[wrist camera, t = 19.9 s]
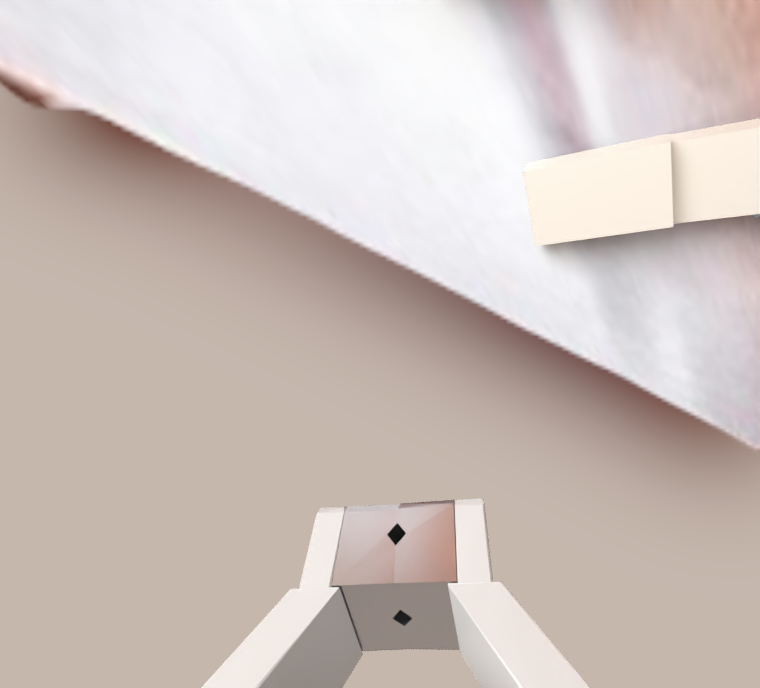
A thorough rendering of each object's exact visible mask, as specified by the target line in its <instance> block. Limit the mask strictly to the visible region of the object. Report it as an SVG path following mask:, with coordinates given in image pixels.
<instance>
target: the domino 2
mask: <svg viewBox="0 0 760 688" xmlns="http://www.w3.org/2000/svg"><path fill="white" fill-rule="evenodd" d="M669 138H670V141H671V167H672V198H673V224H677V223H685V222H694V221H702V220H711V219H720V218H728V217H737V216H745V215H754V214H760V118H759V119H754V120H748V121H743V122H737V123H731V124H726V125H720V126H715V127H709V128H704V129H698V130H693V131H687V132H682V133H676V134H670V135H669Z"/></svg>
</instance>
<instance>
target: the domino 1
mask: <svg viewBox="0 0 760 688" xmlns="http://www.w3.org/2000/svg"><path fill="white" fill-rule="evenodd" d="M523 176H524V182H525V188H526V194H527V200H528V206H529V212H530V217H531V223H532V229H533V235H534V241H535V246H541V245H548V244H555V243H562V242H569V241H576V240H584V239H591V238H598V237H605V236H612V235H620V234H627V233H634V232H641V231H648V230H656V229H663V228H670V227H673V198H672V167H671V141H670V138H669V134H663V135H658V136H654V137H649V138H644V139H639V140H634V141H630V142H625V143H620V144H615V145H611V146H606V147H601V148H596V149H591V150H587V151H582V152H577V153H572V154H568V155H563V156H558V157H553V158H548V159H544V160H539V161H534V162H529V163H526V166H525V168H524V170H523Z"/></svg>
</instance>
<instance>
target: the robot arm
mask: <svg viewBox="0 0 760 688" xmlns="http://www.w3.org/2000/svg"><path fill="white" fill-rule="evenodd" d="M399 649H438V650H440V649H441V650H460V653H461V655H462V656H463V658H464V659H465V661H466V663H467V665H468V666H469V668H470V670H471V671H472V673H473V675H474V677H475V678H476V680H477V682H478V683H479V685H480V687H481V688H589V686H588V685H587V684H586V683H585V682H584V680H583V679H582V678H581V677H580V676H579V674H578V673H577V672H576V671H575V669H574V668H573V667H572V666H571V665H570V663H569V662H568V661H567V660H566V659H565V657H564V656H563V655H562V654H561V653H560V651H559V650H558V649H557V648H556V646H555V645H554V644H553V643H552V642H551V641H550V639H549V638H548V637H547V636H546V634H545V633H544V632H543V631H542V630H541V628H540V627H539V626H538V625H537V623H536V622H535V621H534V620H533V619H532V618H531V616H530V615H529V614H528V613H527V611H526V610H525V609H524V608H523V607H522V605H521V604H520V603H519V602H518V601H517V599H516V598H515V597H514V596H513V594H512V593H511V592H510V591H509V590H508V588H507V587H506V586H505V585H504V584H503V582H493V577H492V568H491V559H490V550H489V540H488V531H487V522H486V513H485V504H484V500H483V499H465V500H455V501H454V500H445V501H431V502H417V503H403V504H400V505H368V506H347V507H323V508H320V510H319V512H318V513H317V515H316V519H315V523H314V527H313V532H312V536H311V540H310V544H309V549H308V553H307V557H306V562H305V566H304V570H303V574H302V578H301V583H300V587H299V588H292V589H290V591H289V592H288V593H287V594H286V595H285V596H284V597H283V598H282V599H281V600H280V602H279V603H278V604H277V605H276V606H275V607H274V608H273V609H272V610H271V612H269V614H268V615H267V616H266V617H265V618H264V619H263V620H262V621H261V623H260V624H259V625H258V626H257V627H256V628H255V629H254V630H253V631H252V632H251V633H250V635H249V636H248V637H247V638H246V639H245V640H244V641H243V642H242V643H241V645H240V646H239V647H238V648H237V649H236V650H235V651H234V652H233V653H232V655H231V656H230V657H229V658H228V659H227V660H226V661H225V662H224V663H223V664H222V665H221V667H220V668H219V669H218V670H217V671H216V672H215V673H214V674H213V675H212V676H211V678H210V679H209V680H208V681H207V682H206V683H205V684H204V685H203V686H202V687H201V688H342V687H343V686H344V684H345V682H346V681H347V679H348V677H349V676H350V674H351V673H352V671H353V669H354V668H355V666H356V665H357V663H358V661H359V660H360V658H361V656H362V651H377V650H399Z"/></svg>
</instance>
